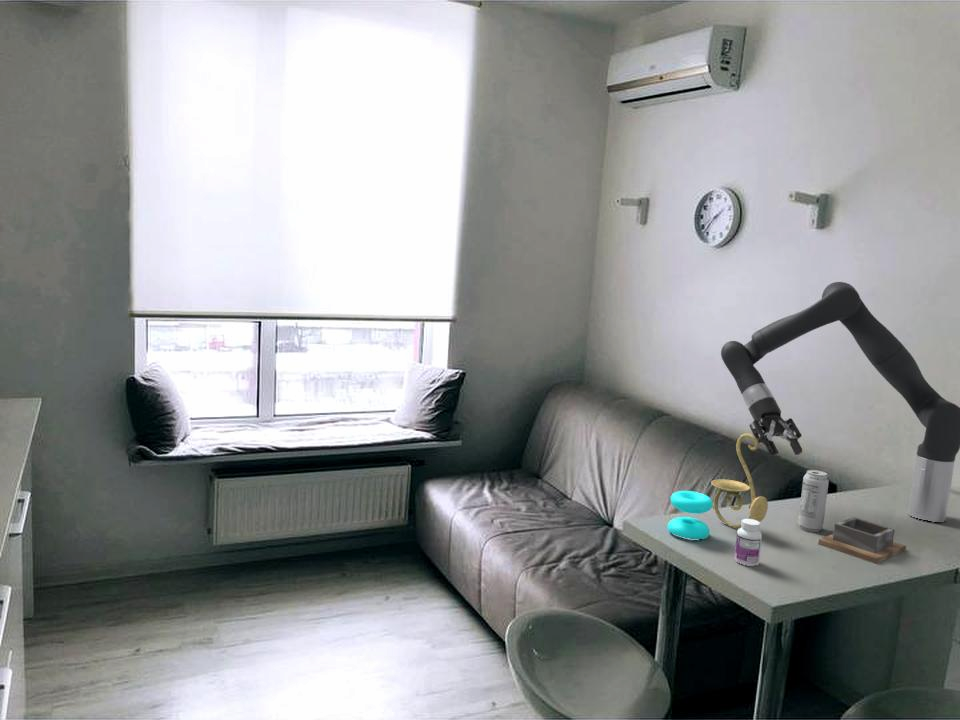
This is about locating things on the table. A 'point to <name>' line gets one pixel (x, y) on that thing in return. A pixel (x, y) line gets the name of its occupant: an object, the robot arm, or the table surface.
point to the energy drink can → (813, 500)
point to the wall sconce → (741, 489)
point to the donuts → (690, 504)
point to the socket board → (863, 540)
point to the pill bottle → (748, 543)
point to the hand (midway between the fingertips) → (787, 454)
